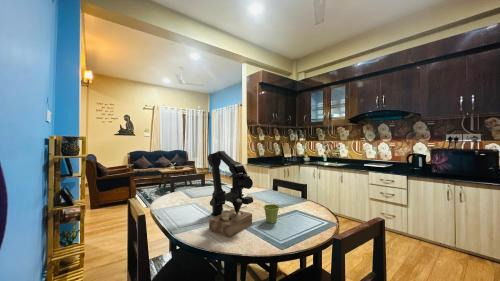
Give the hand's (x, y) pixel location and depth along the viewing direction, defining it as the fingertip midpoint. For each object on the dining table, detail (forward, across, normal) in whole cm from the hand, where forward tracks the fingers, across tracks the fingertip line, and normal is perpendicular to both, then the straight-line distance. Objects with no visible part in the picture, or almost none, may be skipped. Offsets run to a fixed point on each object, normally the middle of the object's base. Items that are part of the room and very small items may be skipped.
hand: (237, 213), depth 116 cm
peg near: (+2, 0, -10) cm, 10 cm away
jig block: (+6, 0, -5) cm, 8 cm away
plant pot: (+6, +14, +15) cm, 22 cm away
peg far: (+6, 0, 0) cm, 6 cm away
